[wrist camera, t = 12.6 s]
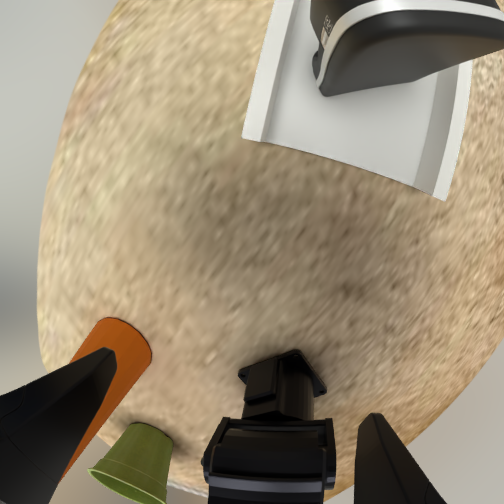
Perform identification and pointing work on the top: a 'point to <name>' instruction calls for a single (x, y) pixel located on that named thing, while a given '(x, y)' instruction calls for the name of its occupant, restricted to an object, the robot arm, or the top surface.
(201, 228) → the top surface
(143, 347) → the spray bottle
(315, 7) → the battery charger
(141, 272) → the top surface
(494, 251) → the top surface
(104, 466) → the plant pot
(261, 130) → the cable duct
